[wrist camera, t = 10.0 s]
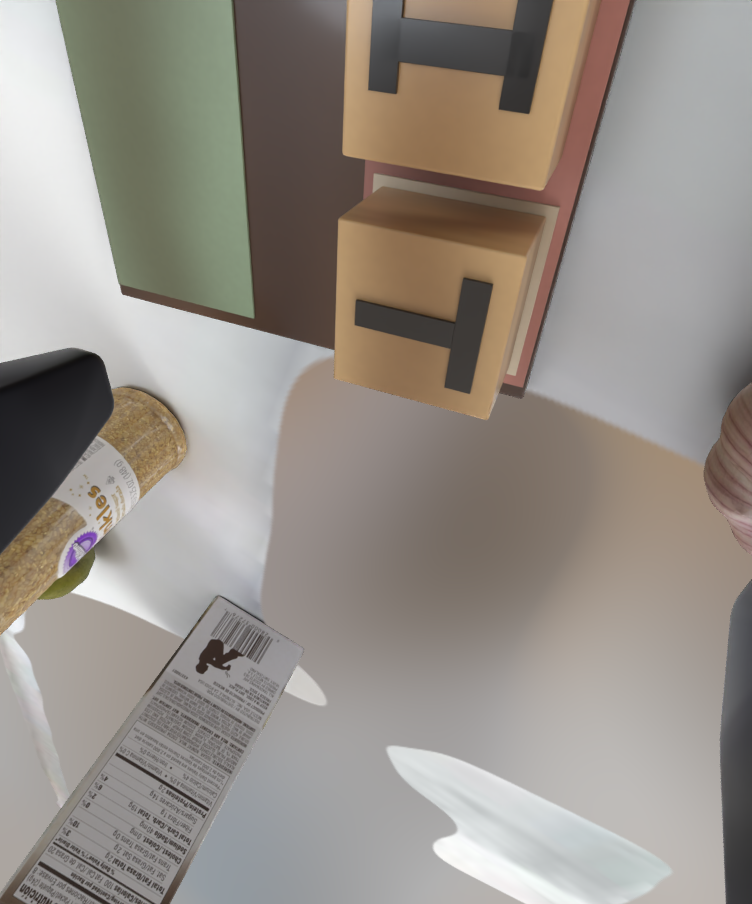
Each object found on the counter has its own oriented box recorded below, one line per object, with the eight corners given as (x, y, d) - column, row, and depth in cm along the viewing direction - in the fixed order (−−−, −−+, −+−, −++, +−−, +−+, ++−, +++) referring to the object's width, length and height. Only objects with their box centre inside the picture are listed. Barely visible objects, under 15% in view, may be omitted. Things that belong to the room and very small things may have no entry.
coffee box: (269, 700, 41) (109, 995, 29) (189, 651, 41) (-5, 927, 29) (310, 648, 34) (127, 998, 23) (215, 591, 34) (-18, 911, 23)
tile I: (625, -95, 11) (616, -112, 9) (561, 159, 14) (542, 194, 12) (404, -109, 12) (346, -128, 10) (386, 130, 15) (338, 157, 13)
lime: (107, 563, 37) (47, 627, 33) (42, 520, 37) (-26, 579, 33) (119, 530, 34) (54, 596, 30) (48, 482, 34) (-26, 543, 30)
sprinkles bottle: (195, 475, 28) (-52, 737, 19) (115, 446, 29) (-159, 682, 20) (184, 398, 25) (-117, 662, 16) (96, 369, 26) (-239, 601, 17)
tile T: (547, 216, 15) (526, 258, 13) (509, 367, 18) (487, 423, 16) (381, 185, 16) (335, 219, 14) (371, 332, 19) (331, 380, 17)
